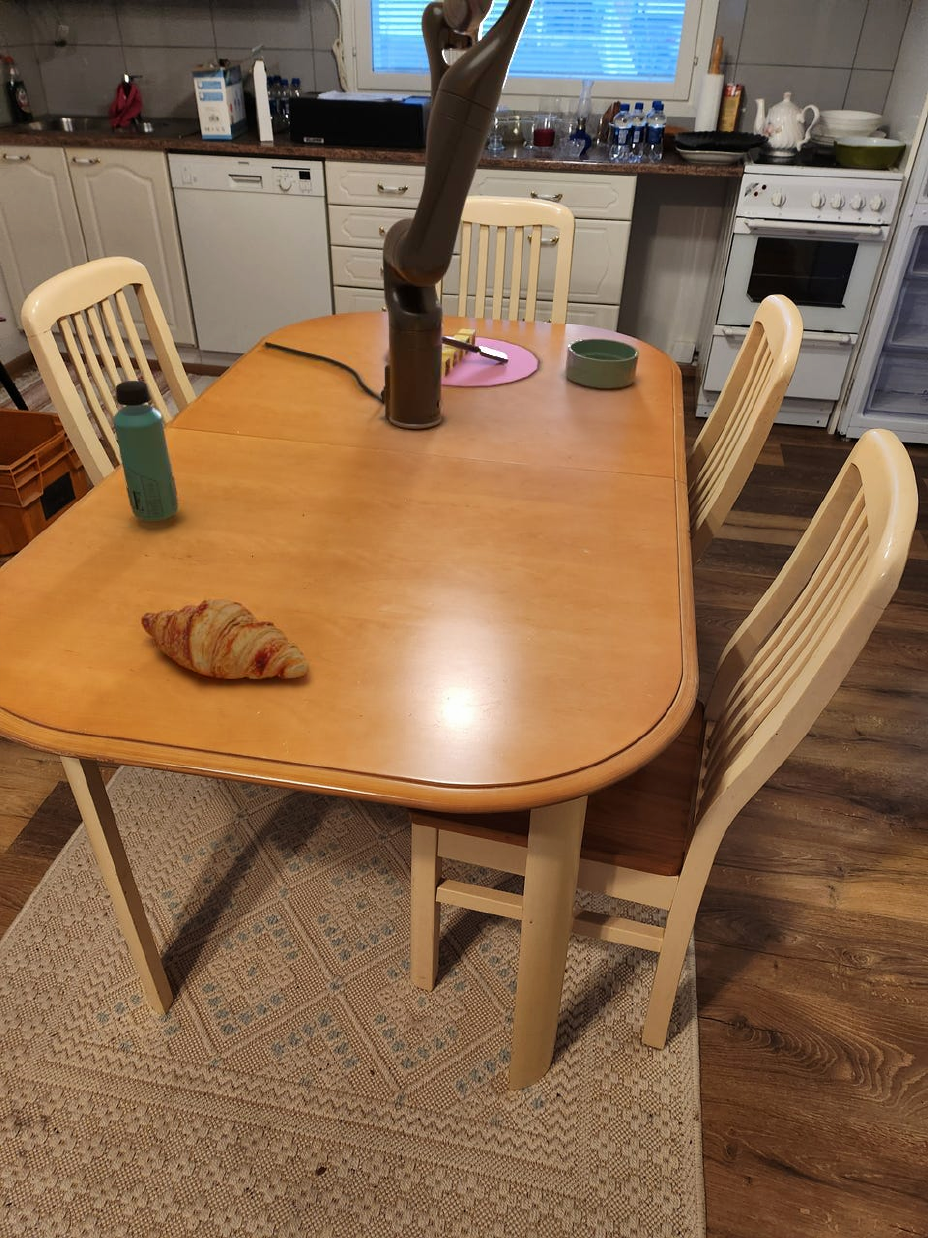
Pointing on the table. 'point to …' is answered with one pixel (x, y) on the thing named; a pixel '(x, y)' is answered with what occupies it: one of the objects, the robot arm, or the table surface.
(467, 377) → the platter
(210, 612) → the croissant
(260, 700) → the table surface
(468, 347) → the spatula
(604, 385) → the bowl
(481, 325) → the table surface
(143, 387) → the beverage bottle
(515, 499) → the table surface
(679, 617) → the table surface
